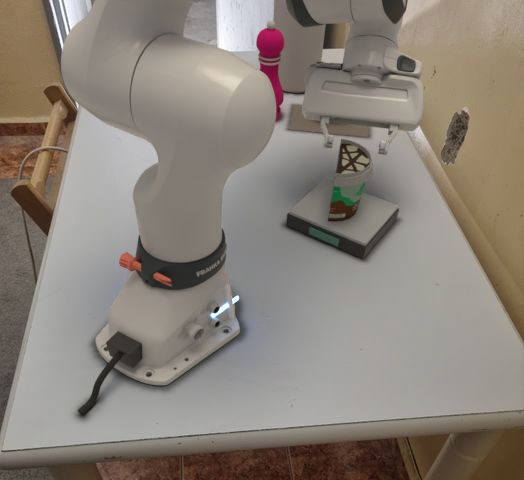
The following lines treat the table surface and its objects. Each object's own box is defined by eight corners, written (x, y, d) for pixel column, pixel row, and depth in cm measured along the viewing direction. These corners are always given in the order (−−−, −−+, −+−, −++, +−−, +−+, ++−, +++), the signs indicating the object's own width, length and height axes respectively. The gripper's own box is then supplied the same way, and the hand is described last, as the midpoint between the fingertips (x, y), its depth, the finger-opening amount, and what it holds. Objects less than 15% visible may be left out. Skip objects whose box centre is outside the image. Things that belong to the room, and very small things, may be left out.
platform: (367, 137, 117) (373, 108, 112) (289, 129, 118) (291, 100, 113) (367, 112, 125) (373, 84, 120) (293, 105, 126) (296, 77, 121)
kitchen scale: (362, 260, 90) (365, 245, 88) (285, 226, 96) (286, 212, 93) (396, 220, 98) (400, 205, 96) (323, 190, 103) (325, 176, 101)
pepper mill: (259, 125, 119) (262, 28, 104) (247, 111, 123) (248, 16, 108) (287, 120, 121) (294, 24, 106) (274, 106, 125) (279, 12, 110)
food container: (361, 230, 90) (373, 180, 83) (326, 226, 91) (335, 175, 83) (365, 191, 98) (376, 141, 90) (333, 186, 99) (341, 137, 91)
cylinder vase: (267, 72, 137) (272, -42, 118) (314, 72, 138) (326, -42, 119) (273, 94, 129) (279, -25, 110) (322, 93, 130) (337, -25, 111)
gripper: (307, 51, 85) (294, 137, 87) (432, 64, 83) (417, 152, 85) (307, 68, 91) (295, 148, 93) (424, 81, 90) (410, 162, 91)
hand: (355, 150), depth 89 cm, fingers open, 8 cm apart
